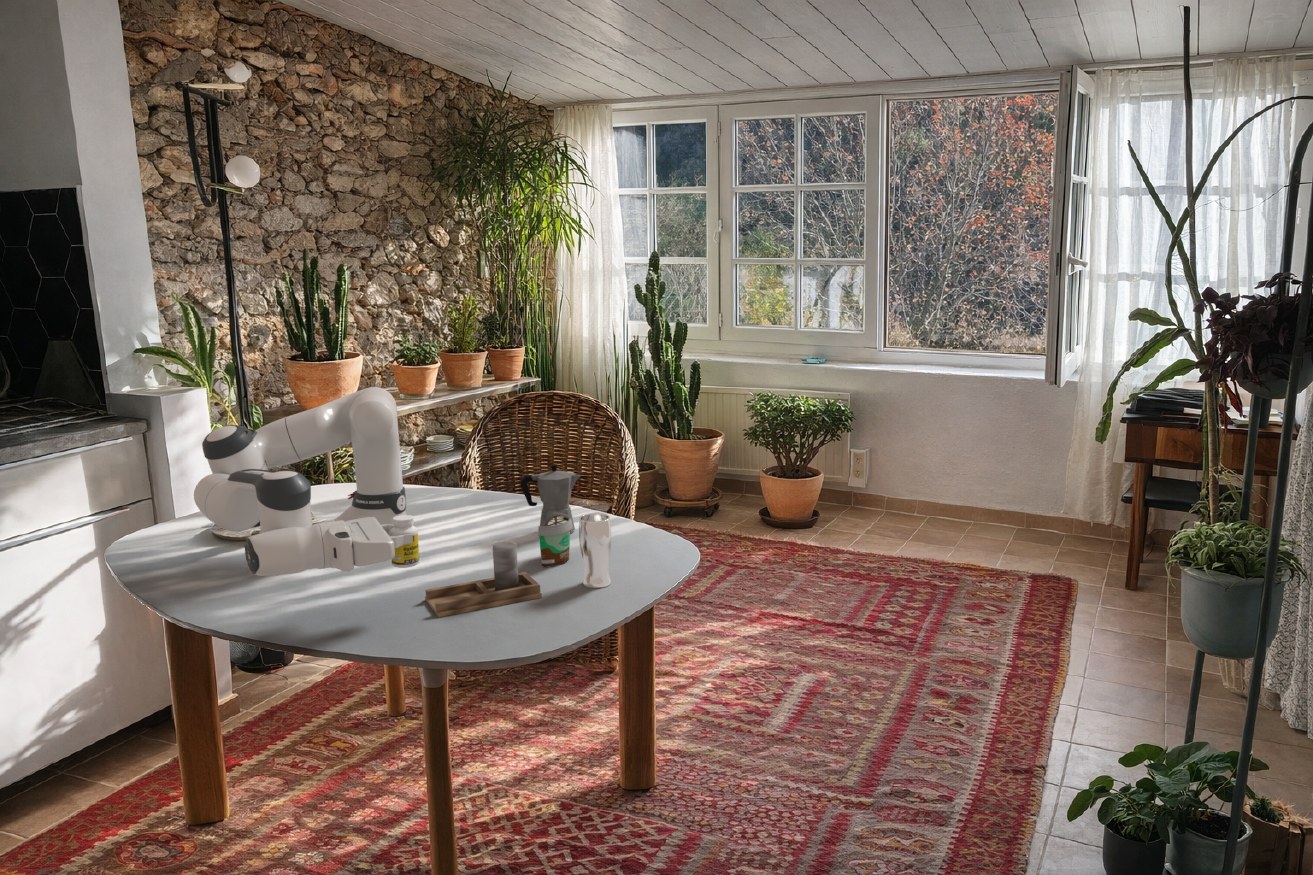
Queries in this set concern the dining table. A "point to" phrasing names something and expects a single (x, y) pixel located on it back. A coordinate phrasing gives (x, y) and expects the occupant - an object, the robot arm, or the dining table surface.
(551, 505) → the coffeepot
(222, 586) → the dining table surface
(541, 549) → the food container
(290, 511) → the robot arm
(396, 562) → the supplement bottle
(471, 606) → the wooden compartment tray
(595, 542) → the beer glass
